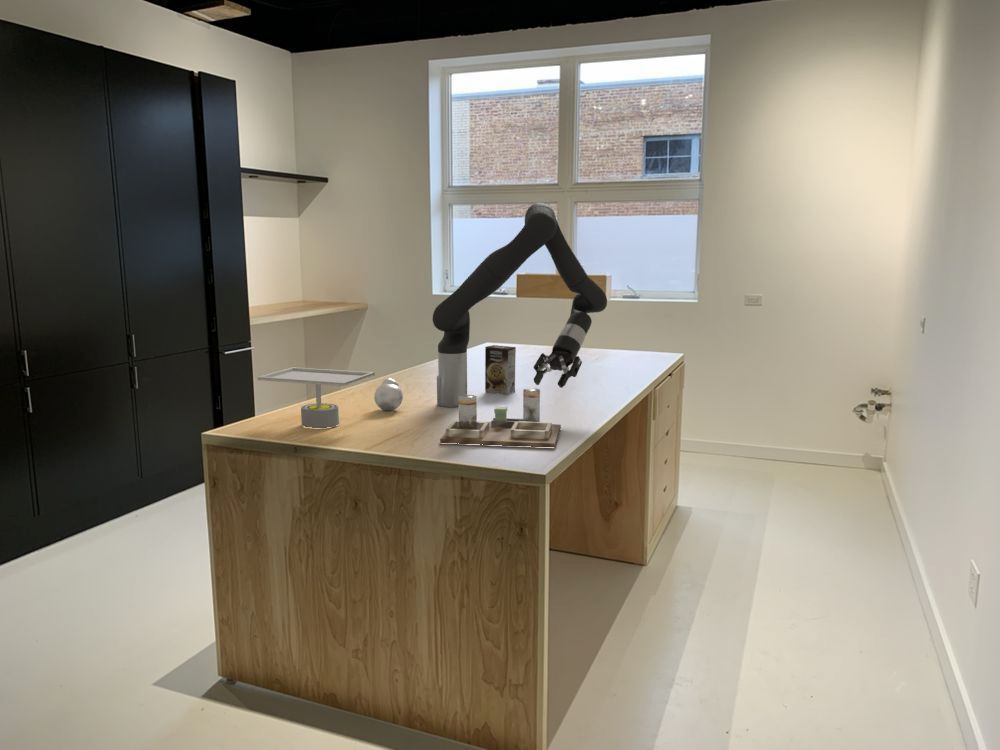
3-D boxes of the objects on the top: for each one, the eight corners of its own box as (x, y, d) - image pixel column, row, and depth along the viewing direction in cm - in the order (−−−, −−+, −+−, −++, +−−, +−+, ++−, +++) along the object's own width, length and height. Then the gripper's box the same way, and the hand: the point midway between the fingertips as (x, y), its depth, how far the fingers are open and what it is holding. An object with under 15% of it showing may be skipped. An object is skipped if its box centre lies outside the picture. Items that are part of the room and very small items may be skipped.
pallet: (440, 444, 196) (439, 431, 195) (456, 425, 215) (456, 413, 214) (554, 449, 191) (554, 435, 190) (560, 429, 210) (560, 417, 210)
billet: (522, 425, 216) (522, 391, 214) (524, 421, 220) (524, 387, 219) (538, 425, 215) (539, 391, 213) (540, 421, 220) (540, 388, 218)
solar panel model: (260, 428, 212) (257, 376, 209) (295, 415, 228) (293, 366, 225) (346, 437, 203) (344, 382, 200) (376, 422, 219) (375, 372, 216)
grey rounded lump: (410, 409, 236) (409, 377, 234) (391, 414, 228) (390, 382, 226) (387, 405, 241) (386, 375, 239) (368, 411, 233) (367, 379, 231)
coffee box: (484, 392, 261) (484, 346, 258) (493, 389, 267) (493, 344, 264) (507, 395, 257) (507, 348, 254) (516, 391, 263) (516, 346, 260)
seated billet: (457, 434, 199) (456, 398, 197) (460, 430, 204) (460, 394, 202) (475, 435, 199) (474, 398, 197) (478, 430, 203) (478, 394, 201)
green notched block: (494, 425, 208) (494, 408, 208) (496, 422, 212) (496, 406, 211) (505, 425, 208) (505, 409, 207) (507, 423, 211) (507, 406, 210)
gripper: (594, 351, 225) (572, 394, 218) (555, 348, 234) (533, 389, 227) (584, 335, 220) (562, 379, 213) (545, 332, 229) (522, 374, 222)
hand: (547, 384), depth 220 cm, fingers open, 8 cm apart
